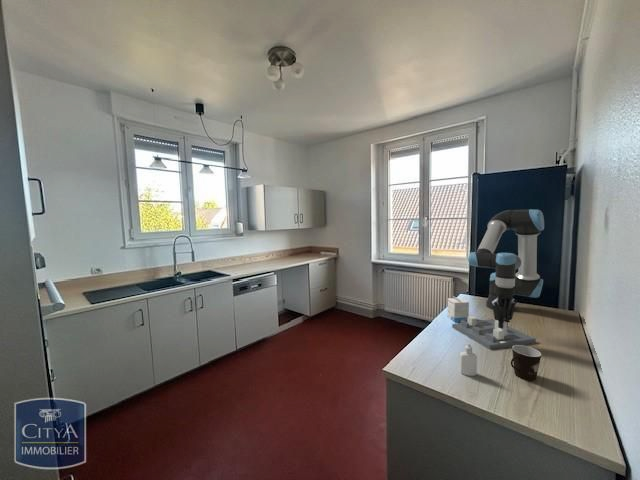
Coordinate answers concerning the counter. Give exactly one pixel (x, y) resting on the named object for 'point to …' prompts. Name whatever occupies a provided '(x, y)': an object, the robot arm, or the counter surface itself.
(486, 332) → the switch board
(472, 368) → the eye dropper bottle
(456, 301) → the ink box
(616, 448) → the counter surface
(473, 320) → the tab
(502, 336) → the tab
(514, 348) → the coffee mug
